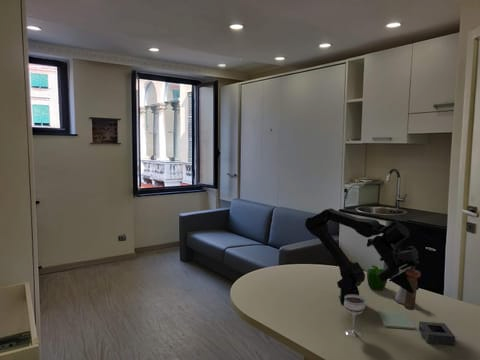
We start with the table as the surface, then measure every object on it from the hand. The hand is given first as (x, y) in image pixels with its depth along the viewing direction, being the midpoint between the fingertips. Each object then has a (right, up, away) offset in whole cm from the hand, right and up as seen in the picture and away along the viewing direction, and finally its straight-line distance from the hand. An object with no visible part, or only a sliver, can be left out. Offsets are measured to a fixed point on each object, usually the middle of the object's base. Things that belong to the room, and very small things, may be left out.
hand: (415, 291), depth 122 cm
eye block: (+5, -14, -4) cm, 15 cm away
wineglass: (-22, -14, -2) cm, 26 cm away
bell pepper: (0, -9, +33) cm, 35 cm away
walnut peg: (-1, -6, +2) cm, 7 cm away
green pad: (-4, -12, +6) cm, 14 cm away
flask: (+6, -11, +21) cm, 25 cm away
